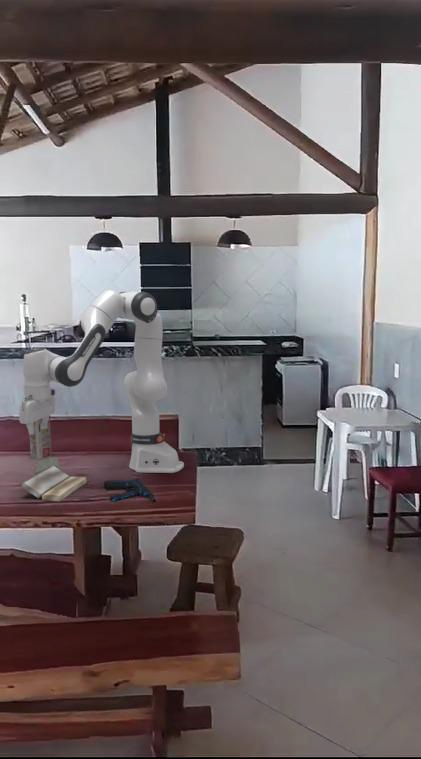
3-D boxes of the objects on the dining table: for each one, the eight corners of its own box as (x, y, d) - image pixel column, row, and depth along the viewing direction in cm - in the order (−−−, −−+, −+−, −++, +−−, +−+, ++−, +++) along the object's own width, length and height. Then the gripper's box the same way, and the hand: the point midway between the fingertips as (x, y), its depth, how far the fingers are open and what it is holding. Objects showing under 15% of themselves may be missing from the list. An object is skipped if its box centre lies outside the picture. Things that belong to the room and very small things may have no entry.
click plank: (66, 480, 245) (69, 475, 245) (38, 498, 224) (41, 493, 223) (49, 468, 246) (51, 464, 246) (20, 486, 225) (22, 481, 224)
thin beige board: (86, 482, 243) (86, 477, 243) (59, 501, 222) (59, 495, 222) (69, 481, 245) (69, 476, 245) (42, 499, 224) (41, 494, 223)
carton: (45, 453, 286) (43, 404, 283) (51, 456, 281) (49, 406, 278) (30, 456, 282) (28, 406, 279) (37, 459, 277) (35, 408, 273)
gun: (116, 510, 217) (158, 504, 223) (116, 502, 216) (158, 496, 222) (99, 487, 238) (138, 482, 244) (98, 480, 238) (138, 475, 244)
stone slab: (36, 478, 255) (61, 472, 257) (34, 471, 254) (60, 466, 257) (35, 464, 276) (59, 459, 278) (34, 458, 276) (57, 453, 278)
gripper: (30, 398, 220) (31, 438, 222) (57, 389, 240) (58, 425, 242) (13, 397, 221) (15, 437, 223) (42, 388, 241) (43, 425, 243)
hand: (38, 431), depth 233 cm, fingers open, 8 cm apart
